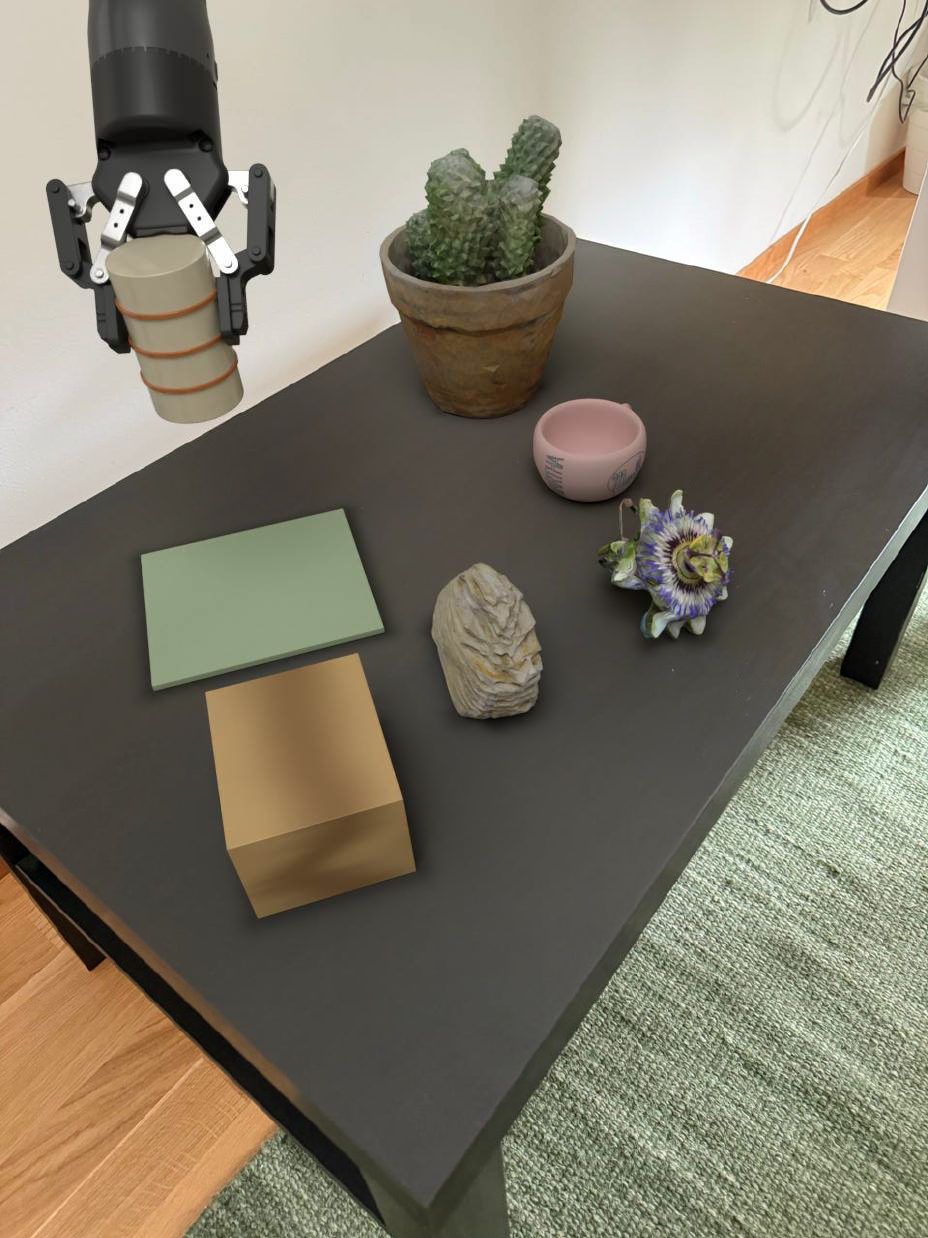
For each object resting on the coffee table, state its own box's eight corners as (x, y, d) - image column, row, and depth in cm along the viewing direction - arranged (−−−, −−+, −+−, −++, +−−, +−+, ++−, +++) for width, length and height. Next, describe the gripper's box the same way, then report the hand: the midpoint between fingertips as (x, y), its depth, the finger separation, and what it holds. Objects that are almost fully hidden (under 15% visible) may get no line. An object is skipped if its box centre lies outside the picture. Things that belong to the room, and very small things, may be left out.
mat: (153, 691, 70) (151, 686, 70) (142, 559, 81) (140, 554, 81) (385, 632, 73) (384, 627, 73) (343, 513, 84) (343, 507, 84)
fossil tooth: (492, 615, 75) (563, 743, 64) (417, 633, 74) (477, 766, 63) (488, 493, 68) (568, 614, 57) (405, 511, 67) (471, 637, 56)
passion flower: (684, 674, 75) (681, 655, 64) (570, 608, 78) (548, 579, 67) (756, 555, 75) (766, 516, 64) (639, 494, 79) (629, 446, 67)
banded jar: (155, 433, 60) (103, 285, 53) (149, 385, 64) (100, 241, 57) (252, 413, 61) (214, 265, 54) (240, 366, 65) (203, 223, 58)
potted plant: (517, 459, 88) (511, 189, 71) (360, 411, 96) (319, 155, 78) (601, 369, 99) (615, 114, 81) (454, 332, 106) (437, 91, 89)
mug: (604, 529, 80) (607, 473, 76) (511, 490, 85) (510, 435, 81) (673, 461, 87) (680, 406, 82) (584, 428, 91) (586, 374, 87)
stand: (258, 919, 56) (226, 849, 51) (234, 766, 65) (205, 691, 59) (416, 871, 58) (403, 799, 52) (373, 728, 66) (358, 652, 61)
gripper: (9, 51, 54) (32, 337, 54) (255, 31, 54) (278, 318, 54) (66, 119, 62) (85, 371, 62) (281, 102, 61) (301, 354, 62)
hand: (175, 345), depth 58 cm, fingers closed on banded jar, 6 cm apart
